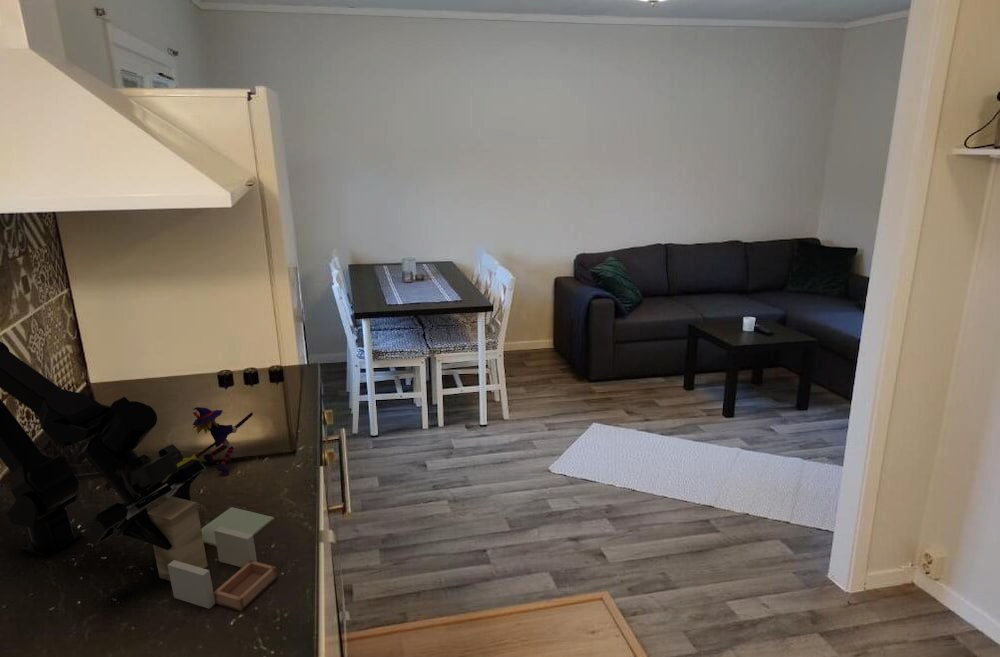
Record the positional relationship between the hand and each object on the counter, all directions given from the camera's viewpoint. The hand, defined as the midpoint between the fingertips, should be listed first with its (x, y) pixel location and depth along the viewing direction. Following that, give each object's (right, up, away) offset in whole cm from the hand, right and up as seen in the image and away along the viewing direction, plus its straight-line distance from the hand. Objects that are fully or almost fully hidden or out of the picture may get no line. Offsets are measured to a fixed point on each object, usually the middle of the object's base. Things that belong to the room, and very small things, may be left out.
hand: (184, 538), depth 100 cm
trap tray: (+11, -7, -2) cm, 13 cm away
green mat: (+2, -3, +13) cm, 14 cm away
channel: (+5, -7, 0) cm, 9 cm away
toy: (-10, +3, +34) cm, 36 cm away
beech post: (-1, -6, +2) cm, 7 cm away
